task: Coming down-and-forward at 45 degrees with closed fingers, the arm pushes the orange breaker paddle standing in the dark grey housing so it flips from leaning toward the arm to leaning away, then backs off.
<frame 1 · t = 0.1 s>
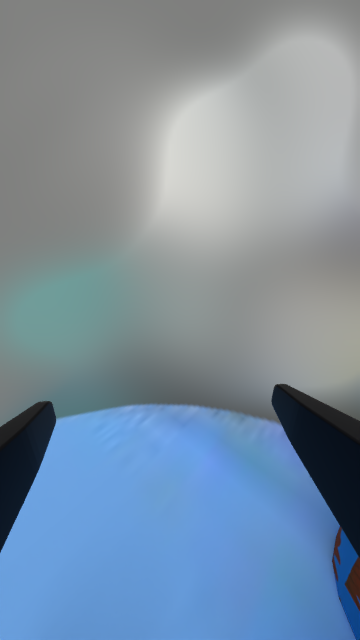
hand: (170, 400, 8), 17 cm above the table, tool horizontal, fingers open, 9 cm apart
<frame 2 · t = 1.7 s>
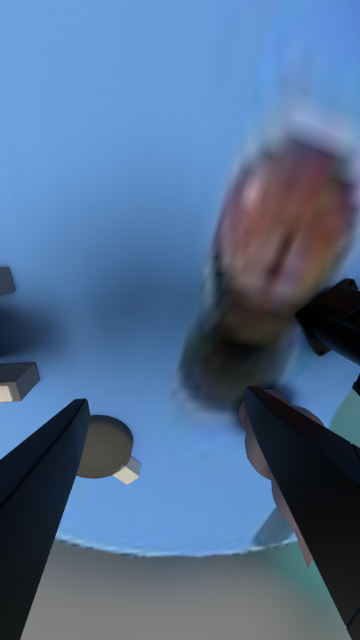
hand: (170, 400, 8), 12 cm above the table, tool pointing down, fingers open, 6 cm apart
cat figurine: (261, 407, 25), on the table
ping pong paddle: (98, 441, 24), on the table
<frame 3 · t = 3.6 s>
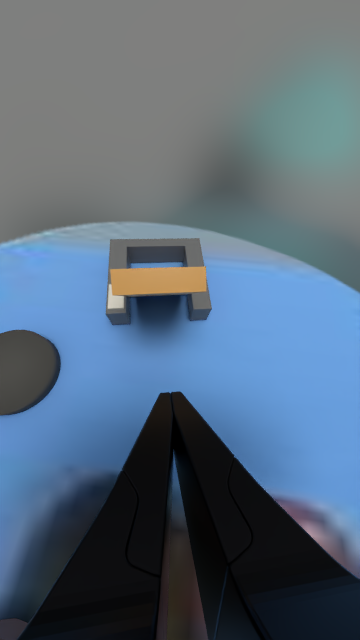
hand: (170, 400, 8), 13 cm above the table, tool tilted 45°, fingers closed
breaker housing: (158, 293, 25), on the table
breaker paddle: (159, 286, 18), point 7 cm above the table, hinge at -30.0°
ping pong paddle: (18, 371, 20), on the table
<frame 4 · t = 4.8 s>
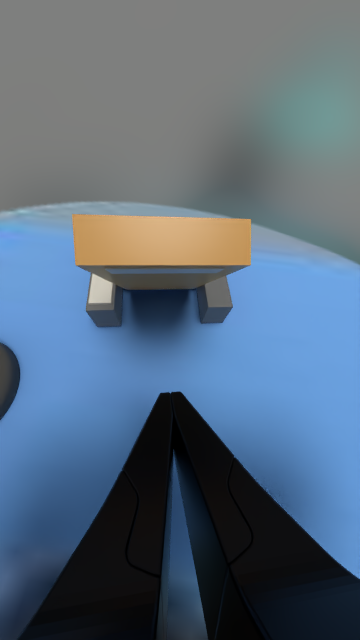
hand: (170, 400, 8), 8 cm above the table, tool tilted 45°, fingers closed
breaker housing: (160, 287, 20), on the table
breaker paddle: (162, 269, 12), point 7 cm above the table, hinge at -30.0°
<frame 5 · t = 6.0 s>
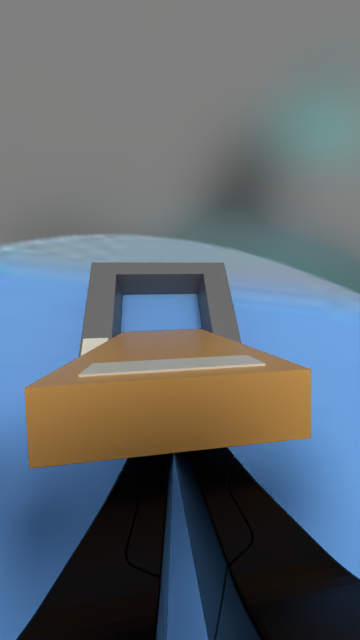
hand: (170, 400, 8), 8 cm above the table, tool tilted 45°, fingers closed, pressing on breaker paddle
breaker housing: (162, 343, 17), on the table
breaker paddle: (167, 356, 10), point 7 cm above the table, hinge at -27.2°, touching gripper
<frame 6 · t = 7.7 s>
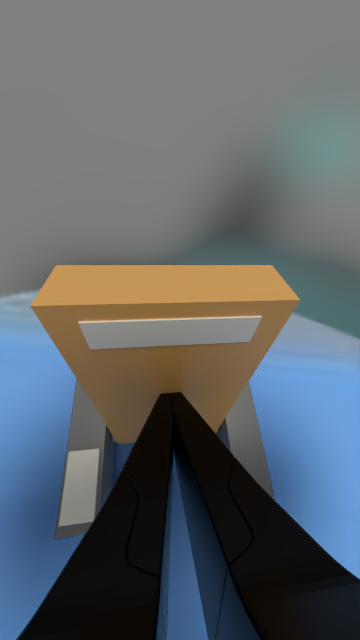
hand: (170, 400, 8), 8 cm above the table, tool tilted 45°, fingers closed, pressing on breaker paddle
breaker housing: (166, 428, 14), on the table
breaker paddle: (168, 385, 9), point 7 cm above the table, hinge at 19.0°, touching gripper
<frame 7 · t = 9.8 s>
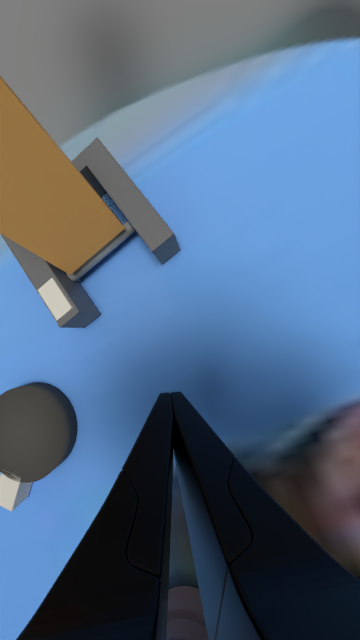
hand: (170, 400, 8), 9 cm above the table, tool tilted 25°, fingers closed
breaker housing: (106, 256, 18), on the table
cat figurine: (192, 624, 16), on the table
breaker paddle: (23, 185, 12), point 7 cm above the table, hinge at 19.1°
ping pong paddle: (38, 425, 19), on the table
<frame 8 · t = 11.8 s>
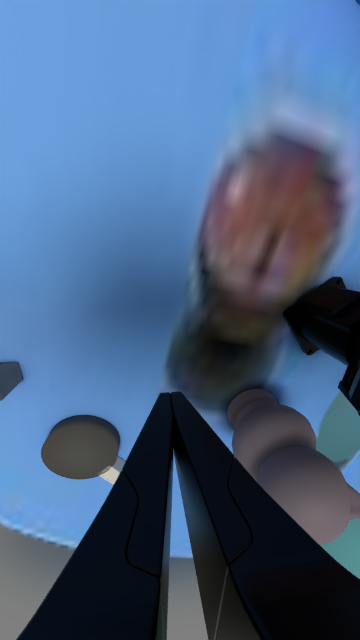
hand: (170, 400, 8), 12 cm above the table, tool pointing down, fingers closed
cat figurine: (251, 407, 25), on the table
ping pong paddle: (85, 441, 24), on the table
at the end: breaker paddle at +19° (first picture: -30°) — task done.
